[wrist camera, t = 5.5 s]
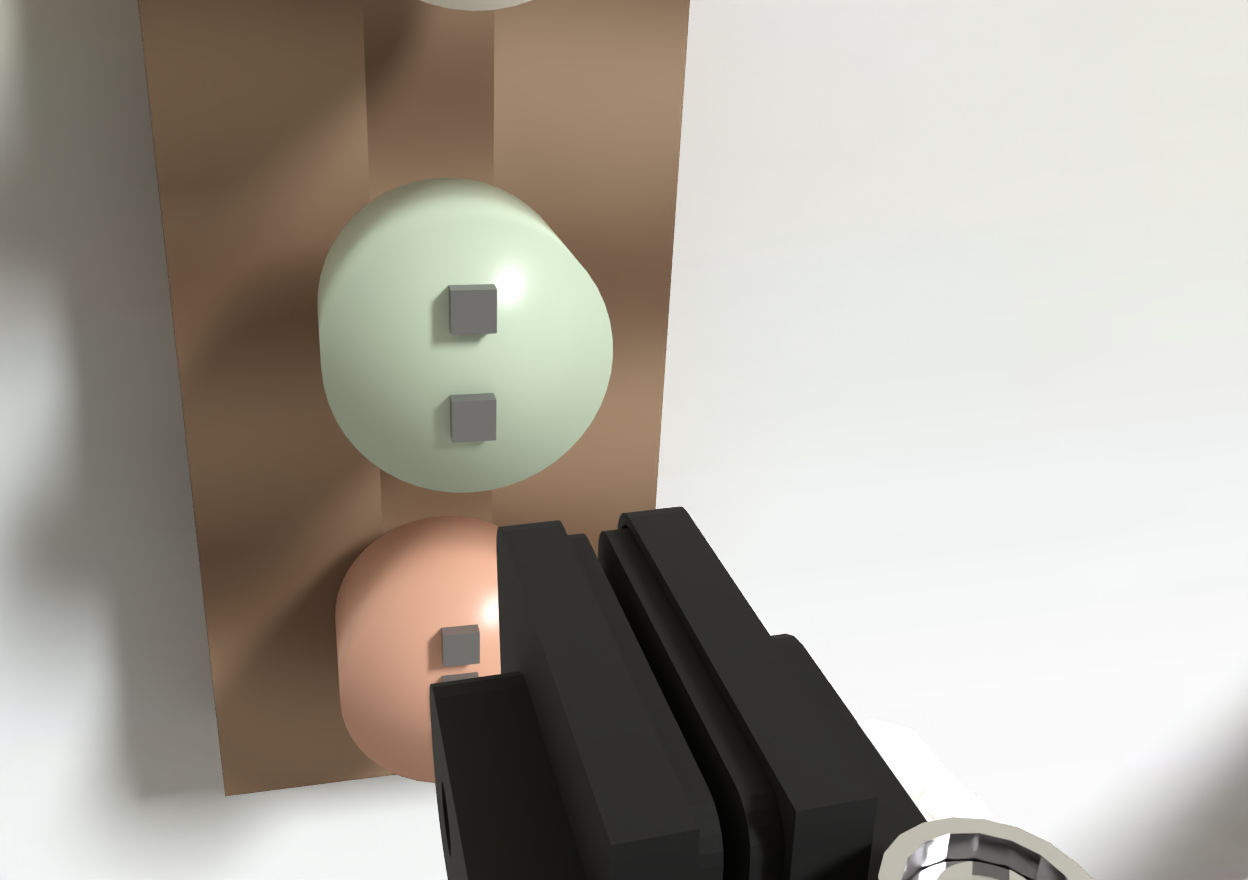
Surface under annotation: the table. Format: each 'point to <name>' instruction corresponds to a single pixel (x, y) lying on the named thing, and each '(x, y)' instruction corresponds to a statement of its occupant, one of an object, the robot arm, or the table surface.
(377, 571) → the plunger
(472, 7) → the plunger
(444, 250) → the plunger
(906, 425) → the table surface
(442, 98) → the button board
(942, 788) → the white cup
